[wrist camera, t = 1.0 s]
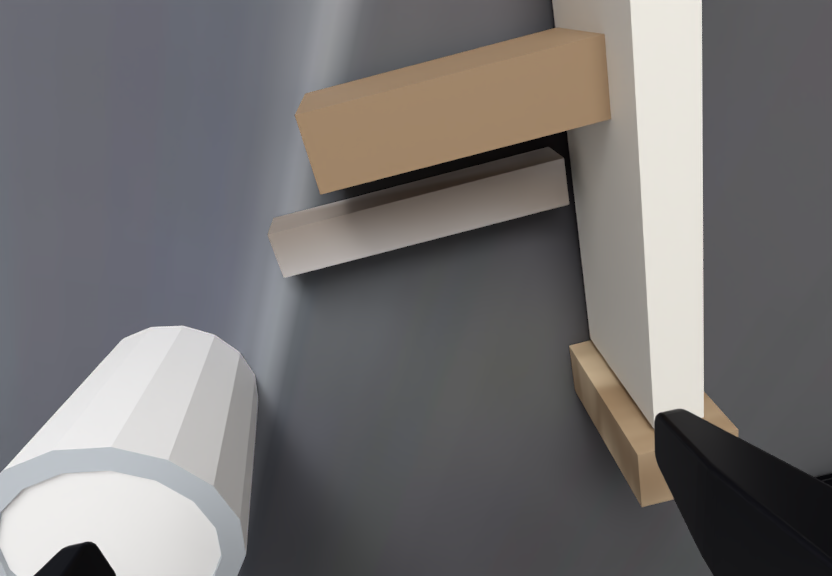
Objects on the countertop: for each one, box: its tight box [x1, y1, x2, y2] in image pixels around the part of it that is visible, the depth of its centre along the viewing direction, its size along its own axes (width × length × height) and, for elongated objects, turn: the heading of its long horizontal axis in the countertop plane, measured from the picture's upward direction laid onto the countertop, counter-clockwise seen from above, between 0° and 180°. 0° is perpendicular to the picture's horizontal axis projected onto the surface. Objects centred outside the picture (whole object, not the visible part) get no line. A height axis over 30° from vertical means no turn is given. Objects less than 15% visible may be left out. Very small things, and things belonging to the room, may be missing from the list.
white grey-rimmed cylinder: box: [0, 326, 258, 576], centre depth 18 cm, size 7×7×7 cm
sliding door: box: [295, 0, 704, 428], centre depth 16 cm, size 18×9×5 cm, turn 13°
